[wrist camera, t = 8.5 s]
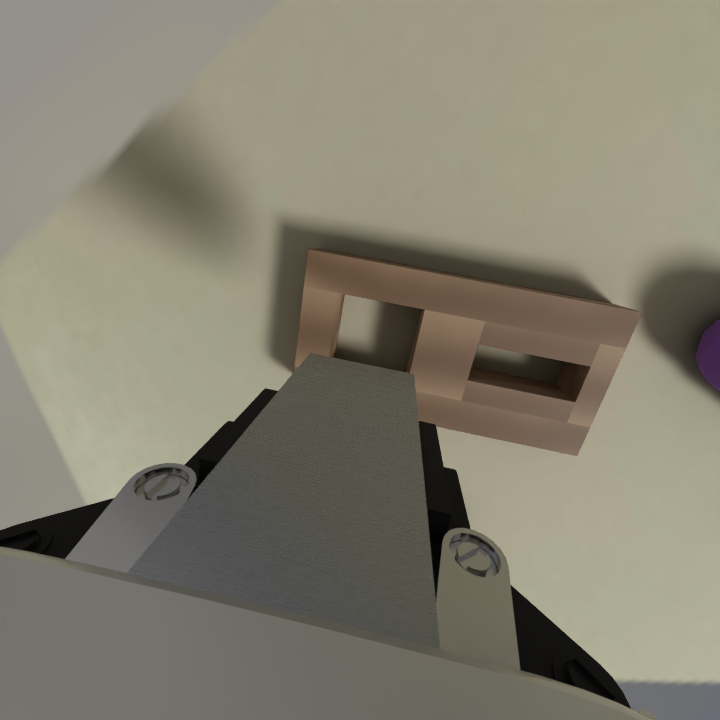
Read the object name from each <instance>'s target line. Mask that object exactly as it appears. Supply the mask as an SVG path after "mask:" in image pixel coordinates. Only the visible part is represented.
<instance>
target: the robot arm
mask: <svg viewBox="0 0 720 720" xmlns="http://www.w3.org/2000/svg"><path fill="white" fill-rule="evenodd" d="M277 392H278V391H275V390H270V389H266V388H265V389H264V390H263V391H262V392H261V393H260V394H259V395H258V396H257V398H256V399H255V400H254V401H253V402H252V403H251V404H250V405H249V406H248V407H247V408H246V409H245V410H244V411H243V412H242V413H241V415H240V416H239V417H238V418H237V419H236V420H235V421H234V422H232V421H228V422H227V423H225V424H224V425H223V426H222V427H221V428H220V429H219V430H218V431H217V432H216V433H215V434H214V435H213V436H212V437H211V439H210V440H209V441H208V442H207V443H206V444H205V445H204V446H203V447H202V448H201V449H200V450H199V451H198V452H197V453H196V454H195V455H194V456H193V457H192V458H191V459H190V460H189V461H188V462H187V463H186V464H185V465H181V464H176V463H165V464H159V465H154V466H151V467H148V468H145V469H143V470H142V471H140V472H138V473H136V474H135V475H134V476H133V477H132V478H131V479H130V480H129V481H128V482H127V483H126V485H125V486H124V487H123V488H122V490H121V491H120V492H119V493H118V494H117V496H116V497H115V498H113V499H109V500H105V501H102V502H98V503H94V504H91V505H87V506H83V507H80V508H77V509H72V510H69V511H66V512H61V513H58V514H54V515H50V516H47V517H44V518H39V519H36V520H32V521H29V522H25V523H21V524H18V525H15V526H12V527H9V528H6V529H3V530H0V720H659V719H657V718H656V717H654V716H653V715H652V714H650V713H649V712H648V711H647V710H645V709H644V708H641V709H640V710H639V712H636V711H635V710H634V709H632V708H631V707H630V705H629V703H628V701H627V699H626V697H625V695H624V693H623V692H622V690H621V689H620V687H619V686H618V685H617V683H616V682H615V680H614V679H613V678H612V676H611V675H610V674H609V673H608V672H607V671H606V670H605V669H604V668H603V667H602V666H601V665H600V664H599V663H598V662H597V661H595V660H594V659H593V658H592V657H591V656H590V655H589V654H588V653H587V652H585V651H584V650H583V649H582V648H581V647H580V646H579V645H578V644H576V643H575V642H574V641H573V640H572V639H571V638H570V637H569V636H567V635H566V634H565V633H564V632H563V631H562V630H561V629H560V628H558V627H557V626H556V625H555V624H554V623H553V622H552V621H551V620H549V619H548V618H547V617H546V616H545V615H544V614H543V613H542V612H540V611H539V610H538V609H537V608H536V607H535V606H534V605H533V604H532V603H530V602H529V601H528V600H527V599H526V598H525V597H524V596H523V595H521V594H520V593H519V592H518V591H517V590H516V589H515V588H514V587H512V586H511V585H510V576H509V568H508V564H507V560H506V557H505V556H504V554H503V552H502V551H501V549H500V548H499V547H498V546H497V545H496V544H495V543H494V542H493V541H492V540H491V539H489V538H488V537H486V536H485V535H483V534H481V533H479V532H477V531H475V530H471V529H470V525H469V521H468V517H467V513H466V508H465V504H464V500H463V496H462V492H461V488H460V483H459V479H458V475H457V472H456V470H454V469H450V468H445V467H443V461H442V456H441V451H440V445H439V440H438V435H437V429H436V425H435V424H432V423H427V422H423V421H419V431H420V441H421V452H422V462H423V473H424V483H425V494H426V504H427V515H428V525H429V536H430V546H431V557H432V567H433V578H434V588H435V599H436V609H437V620H438V630H439V641H440V649H438V648H434V647H430V646H426V645H422V644H418V643H414V642H410V641H406V640H402V639H397V638H393V637H389V636H385V635H381V634H377V633H373V632H369V631H365V630H361V629H357V628H353V627H349V626H345V625H341V624H337V623H333V622H329V621H325V620H321V619H317V618H312V617H308V616H304V615H300V614H296V613H292V612H288V611H284V610H280V609H275V608H271V607H267V606H263V605H259V604H255V603H251V602H246V601H242V600H238V599H234V598H230V597H226V596H222V595H217V594H213V593H209V592H205V591H201V590H196V589H192V588H188V587H184V586H179V585H175V584H171V583H167V582H162V581H158V580H154V579H150V578H145V577H141V576H137V575H133V574H128V573H127V572H128V571H129V569H130V568H131V567H132V566H133V565H134V563H135V562H136V561H137V560H138V559H139V557H140V556H141V555H142V554H143V553H144V551H145V550H146V549H147V548H148V547H149V545H150V544H151V543H152V542H153V541H154V539H155V538H156V537H157V536H158V535H159V533H160V532H161V531H162V530H163V529H164V527H165V526H166V525H167V524H168V523H169V522H170V520H171V519H172V518H173V517H174V516H175V514H176V513H177V512H178V511H179V510H180V508H181V507H182V506H183V505H184V504H185V502H186V501H187V500H188V499H189V498H190V496H191V495H192V494H193V493H194V492H195V490H196V489H197V488H198V487H199V486H200V484H201V483H202V482H203V481H204V480H205V478H206V477H207V476H208V475H209V474H210V472H211V471H212V470H213V469H214V468H215V466H216V465H217V464H218V463H219V462H220V460H221V459H222V458H223V457H224V456H225V454H226V453H227V452H228V451H229V450H230V448H231V447H232V446H233V445H234V444H235V442H236V441H237V440H238V439H239V438H240V436H241V435H242V434H243V433H244V432H245V430H246V429H247V428H248V427H249V426H250V424H251V423H252V422H253V421H254V420H255V418H256V417H257V416H258V415H259V414H260V412H261V411H262V410H263V409H264V408H265V406H266V405H267V404H268V403H269V402H270V401H271V399H272V398H273V397H274V396H275V395H276V393H277Z"/></svg>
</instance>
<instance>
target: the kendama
mask: <svg viewBox="0 0 720 720" xmlns="http://www.w3.org/2000/svg"><path fill="white" fill-rule="evenodd" d="M695 358H696V361H697V364H698V367H699V370H700V372H701V374H702V375H703V377H704V378H705V380H706V381H707V382H708V383H709V384H710V385H712V386H713V387H714V388H715V389H717V390H718V391H719V392H720V319H719V320H717V321H716V322H715V323H714V324H712V325H711V326H710V327H709V328H708V329H707V330H705V331H704V332H703V334H702V337H701V340H700V343H699V346H698V349H697V352H696V356H695Z"/></svg>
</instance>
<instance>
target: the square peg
mask: <svg viewBox="0 0 720 720" xmlns="http://www.w3.org/2000/svg"><path fill="white" fill-rule="evenodd" d="M127 573H128V574H133V575H137V576H141V577H145V578H150V579H154V580H158V581H162V582H167V583H171V584H175V585H179V586H184V587H188V588H192V589H196V590H201V591H205V592H209V593H213V594H217V595H222V596H226V597H230V598H234V599H238V600H242V601H246V602H251V603H255V604H259V605H263V606H267V607H271V608H275V609H280V610H284V611H288V612H292V613H296V614H300V615H304V616H308V617H312V618H317V619H321V620H325V621H329V622H333V623H337V624H341V625H345V626H349V627H353V628H357V629H361V630H365V631H369V632H373V633H377V634H381V635H385V636H389V637H393V638H397V639H402V640H406V641H410V642H414V643H418V644H422V645H426V646H430V647H434V648H438V649H440V641H439V630H438V620H437V609H436V599H435V588H434V578H433V567H432V557H431V546H430V536H429V525H428V515H427V504H426V494H425V483H424V473H423V462H422V452H421V441H420V431H419V420H418V410H417V399H416V389H415V378H414V374H412V373H407V372H402V371H397V370H392V369H387V368H382V367H377V366H372V365H367V364H362V363H358V362H353V361H348V360H343V359H338V358H333V357H328V356H323V355H318V354H313V353H310V354H309V355H308V356H307V357H306V359H305V360H304V361H303V362H302V363H301V365H300V366H299V367H298V368H297V369H296V371H295V372H294V373H293V374H292V375H291V377H290V378H289V379H288V380H287V381H286V383H285V384H284V385H283V386H282V387H281V389H280V390H279V391H278V392H277V393H276V395H275V396H274V397H273V398H272V399H271V401H270V402H269V403H268V404H267V405H266V406H265V408H264V409H263V410H262V411H261V412H260V414H259V415H258V416H257V417H256V418H255V420H254V421H253V422H252V423H251V424H250V426H249V427H248V428H247V429H246V430H245V432H244V433H243V434H242V435H241V436H240V438H239V439H238V440H237V441H236V442H235V444H234V445H233V446H232V447H231V448H230V450H229V451H228V452H227V453H226V454H225V456H224V457H223V458H222V459H221V460H220V462H219V463H218V464H217V465H216V466H215V468H214V469H213V470H212V471H211V472H210V474H209V475H208V476H207V477H206V478H205V480H204V481H203V482H202V483H201V484H200V486H199V487H198V488H197V489H196V490H195V492H194V493H193V494H192V495H191V496H190V498H189V499H188V500H187V501H186V502H185V504H184V505H183V506H182V507H181V508H180V510H179V511H178V512H177V513H176V514H175V516H174V517H173V518H172V519H171V520H170V522H169V523H168V524H167V525H166V526H165V527H164V529H163V530H162V531H161V532H160V533H159V535H158V536H157V537H156V538H155V539H154V541H153V542H152V543H151V544H150V545H149V547H148V548H147V549H146V550H145V551H144V553H143V554H142V555H141V556H140V557H139V559H138V560H137V561H136V562H135V563H134V565H133V566H132V567H131V568H130V569H129V571H128V572H127Z"/></svg>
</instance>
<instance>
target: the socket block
mask: <svg viewBox="0 0 720 720" xmlns="http://www.w3.org/2000/svg"><path fill="white" fill-rule="evenodd" d="M345 294H347V295H352V296H357V297H362V298H367V299H373V300H378V301H383V302H388V303H393V304H398V305H403V306H409V307H414V308H419V309H421V310H420V314H419V318H418V322H417V327H416V331H415V335H414V340H413V344H412V348H411V352H410V357H409V361H408V365H407V369H406V372H407V373H412V374H414V378H415V389H416V399H417V410H418V420H419V421H423V422H427V423H432V424H435V425H436V426H437V427H442V428H447V429H451V430H456V431H461V432H466V433H470V434H475V435H480V436H484V437H489V438H494V439H499V440H503V441H508V442H513V443H518V444H522V445H527V446H532V447H537V448H541V449H546V450H551V451H555V452H560V453H565V454H570V455H574V456H577V455H578V453H579V451H580V448H581V446H582V444H583V442H584V440H585V437H586V435H587V433H588V431H589V429H590V426H591V424H592V422H593V420H594V418H595V415H596V413H597V411H598V409H599V407H600V404H601V402H602V400H603V398H604V396H605V393H606V391H607V389H608V387H609V385H610V382H611V380H612V378H613V376H614V373H615V371H616V369H617V367H618V365H619V362H620V360H621V358H622V356H623V354H624V351H625V349H626V347H627V345H628V343H629V340H630V338H631V336H632V334H633V332H634V329H635V327H636V325H637V323H638V321H639V318H640V316H641V314H642V312H639V311H636V310H632V309H629V308H626V307H622V306H619V305H615V304H611V303H606V302H601V301H595V300H590V299H585V298H579V297H574V296H569V295H564V294H558V293H553V292H548V291H542V290H537V289H532V288H526V287H521V286H516V285H510V284H505V283H500V282H494V281H489V280H484V279H478V278H473V277H468V276H462V275H457V274H452V273H447V272H441V271H436V270H431V269H425V268H420V267H415V266H409V265H404V264H399V263H393V262H388V261H383V260H377V259H372V258H367V257H361V256H356V255H351V254H346V253H340V252H335V251H330V250H324V249H308V255H307V263H306V272H305V280H304V289H303V297H302V306H301V314H300V323H299V331H298V340H297V348H296V357H295V365H294V372H295V371H296V369H297V368H298V367H299V366H300V365H301V363H302V362H303V361H304V360H305V359H306V357H307V356H308V355H309V354H310V353H313V354H318V355H323V356H328V357H333V358H335V352H336V346H337V340H338V333H339V327H340V321H341V314H342V308H343V302H344V295H345ZM478 344H479V345H484V346H489V347H494V348H499V349H504V350H509V351H514V352H520V353H525V354H530V355H535V356H540V357H545V358H550V359H555V360H560V361H565V364H564V366H563V369H562V371H561V374H560V376H559V379H558V381H557V384H551V383H546V382H541V381H536V380H531V379H527V378H522V377H517V376H512V375H507V374H502V373H497V372H492V371H487V370H482V369H477V368H472V363H473V360H474V357H475V353H476V350H477V347H478Z"/></svg>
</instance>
